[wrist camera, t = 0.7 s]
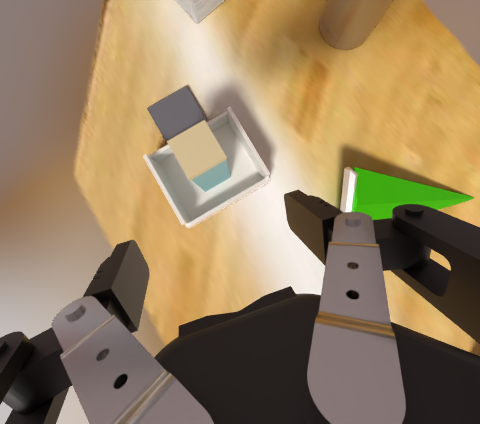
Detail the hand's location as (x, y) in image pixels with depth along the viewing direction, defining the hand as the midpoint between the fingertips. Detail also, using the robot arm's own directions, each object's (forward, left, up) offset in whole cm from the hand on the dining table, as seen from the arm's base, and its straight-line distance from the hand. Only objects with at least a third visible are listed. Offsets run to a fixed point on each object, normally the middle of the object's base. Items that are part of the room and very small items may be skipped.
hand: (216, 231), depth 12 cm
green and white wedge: (-26, +9, -27) cm, 39 cm away
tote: (-1, -10, -27) cm, 29 cm away
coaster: (-1, -22, -27) cm, 34 cm away
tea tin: (-1, -10, -26) cm, 28 cm away
